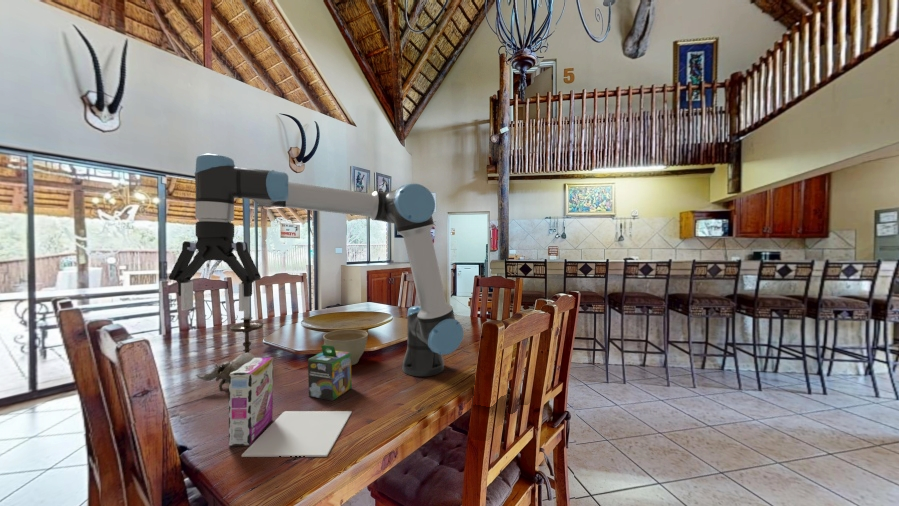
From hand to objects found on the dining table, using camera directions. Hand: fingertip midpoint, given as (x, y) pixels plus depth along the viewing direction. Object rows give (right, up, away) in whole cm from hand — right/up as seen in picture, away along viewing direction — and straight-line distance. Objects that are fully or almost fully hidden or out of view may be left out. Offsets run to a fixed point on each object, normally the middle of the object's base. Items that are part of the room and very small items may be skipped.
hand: (215, 310), depth 78 cm
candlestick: (-20, -28, +44) cm, 56 cm away
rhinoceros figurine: (-12, -29, +25) cm, 40 cm away
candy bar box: (+9, -30, 0) cm, 31 cm away
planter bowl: (+17, -29, +46) cm, 56 cm away
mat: (+21, -29, 0) cm, 36 cm away
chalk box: (+20, -29, +21) cm, 41 cm away
